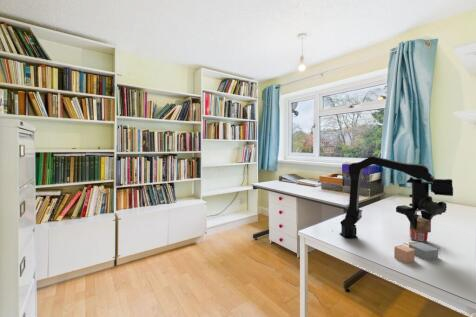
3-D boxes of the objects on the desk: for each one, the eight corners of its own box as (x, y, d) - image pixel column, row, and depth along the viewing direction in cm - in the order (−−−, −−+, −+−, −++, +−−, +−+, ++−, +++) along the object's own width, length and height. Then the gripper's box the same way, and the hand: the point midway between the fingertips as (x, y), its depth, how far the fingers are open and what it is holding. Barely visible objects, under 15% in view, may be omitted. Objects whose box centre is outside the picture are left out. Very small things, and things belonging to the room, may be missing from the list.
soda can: (418, 237, 113) (420, 214, 113) (431, 242, 106) (432, 218, 106) (405, 236, 113) (407, 214, 113) (417, 242, 106) (418, 218, 106)
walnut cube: (420, 233, 93) (420, 221, 93) (409, 228, 98) (409, 218, 98) (430, 232, 93) (430, 220, 93) (420, 228, 98) (420, 217, 98)
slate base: (425, 260, 91) (425, 251, 91) (408, 252, 98) (409, 244, 98) (437, 258, 93) (438, 249, 93) (421, 250, 100) (421, 242, 100)
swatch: (416, 249, 100) (416, 248, 100) (403, 242, 107) (403, 241, 107) (430, 248, 101) (430, 247, 101) (416, 241, 108) (416, 240, 108)
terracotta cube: (406, 263, 89) (407, 251, 89) (394, 257, 94) (394, 246, 94) (414, 261, 91) (414, 249, 91) (401, 255, 96) (402, 244, 95)
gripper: (417, 198, 86) (418, 237, 87) (459, 195, 88) (459, 233, 89) (394, 193, 97) (395, 227, 98) (432, 190, 99) (432, 224, 100)
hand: (420, 228), depth 96 cm, fingers closed on walnut cube, 5 cm apart
